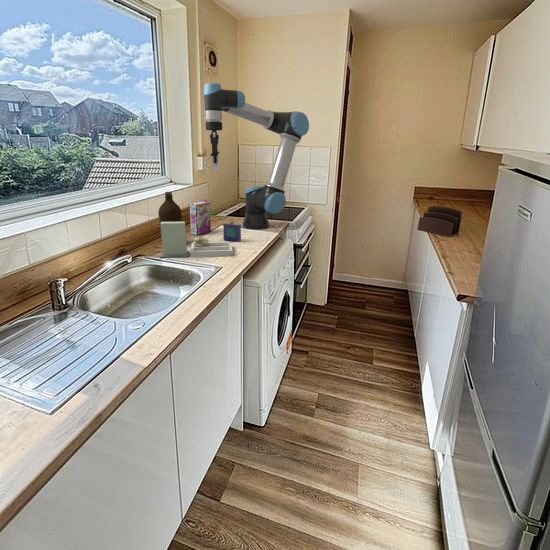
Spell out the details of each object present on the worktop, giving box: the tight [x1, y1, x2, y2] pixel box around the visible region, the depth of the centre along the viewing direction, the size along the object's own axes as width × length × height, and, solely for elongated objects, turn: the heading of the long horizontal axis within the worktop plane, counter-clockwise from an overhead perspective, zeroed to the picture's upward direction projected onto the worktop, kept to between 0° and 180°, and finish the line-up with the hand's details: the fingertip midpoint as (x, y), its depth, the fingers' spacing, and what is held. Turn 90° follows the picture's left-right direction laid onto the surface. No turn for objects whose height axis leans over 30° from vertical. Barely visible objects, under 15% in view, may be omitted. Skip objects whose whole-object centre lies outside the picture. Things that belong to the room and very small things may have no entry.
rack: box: [189, 241, 233, 258], centre depth 171 cm, size 18×14×2 cm
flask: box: [222, 219, 242, 243], centre depth 187 cm, size 9×3×11 cm, turn 75°
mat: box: [159, 250, 190, 259], centre depth 166 cm, size 12×8×1 cm, turn 98°
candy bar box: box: [189, 201, 212, 236], centre depth 199 cm, size 11×5×16 cm, turn 149°
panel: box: [159, 221, 188, 255], centre depth 163 cm, size 10×3×14 cm, turn 98°
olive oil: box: [158, 191, 183, 229], centre depth 177 cm, size 11×11×25 cm
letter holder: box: [417, 205, 463, 238], centre depth 211 cm, size 10×20×14 cm, turn 41°
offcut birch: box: [194, 236, 210, 246], centre depth 171 cm, size 6×4×3 cm
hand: (215, 169), depth 177 cm, fingers open, 13 cm apart
